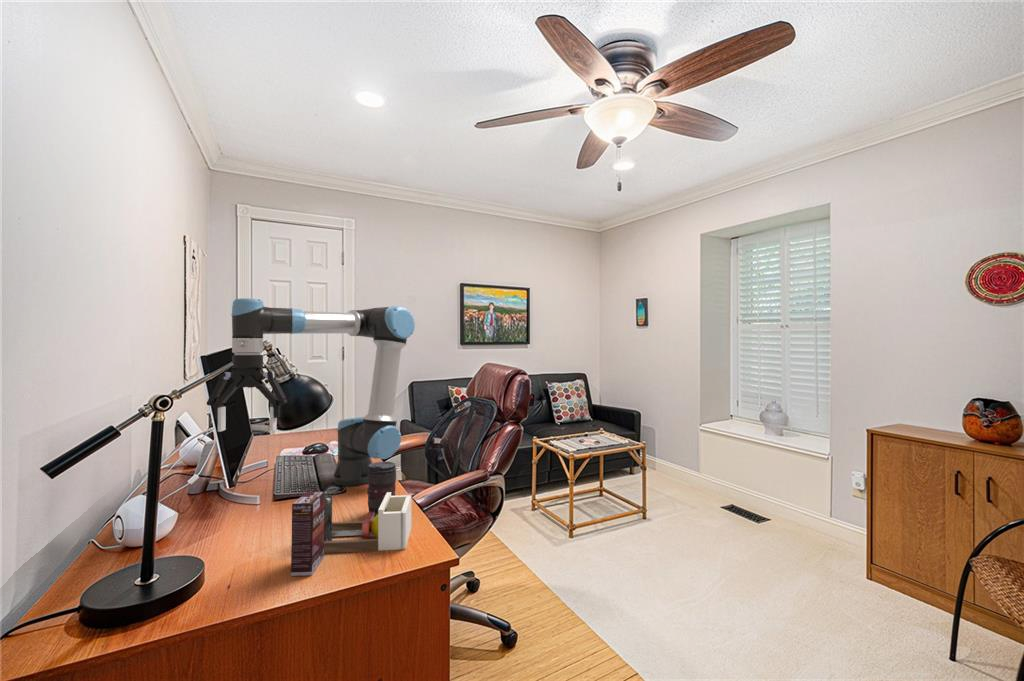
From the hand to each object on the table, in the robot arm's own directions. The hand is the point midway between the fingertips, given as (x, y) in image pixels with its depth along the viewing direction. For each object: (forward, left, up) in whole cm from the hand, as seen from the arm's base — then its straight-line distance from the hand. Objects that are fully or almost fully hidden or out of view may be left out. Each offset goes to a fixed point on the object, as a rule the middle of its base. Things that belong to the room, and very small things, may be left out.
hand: (247, 430), depth 127 cm
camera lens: (-4, +36, -27) cm, 45 cm away
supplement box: (+26, +25, -27) cm, 45 cm away
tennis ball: (+13, +40, -27) cm, 50 cm away
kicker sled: (+13, +29, -26) cm, 42 cm away
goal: (+13, +42, -27) cm, 52 cm away
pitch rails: (+13, +30, -27) cm, 42 cm away
